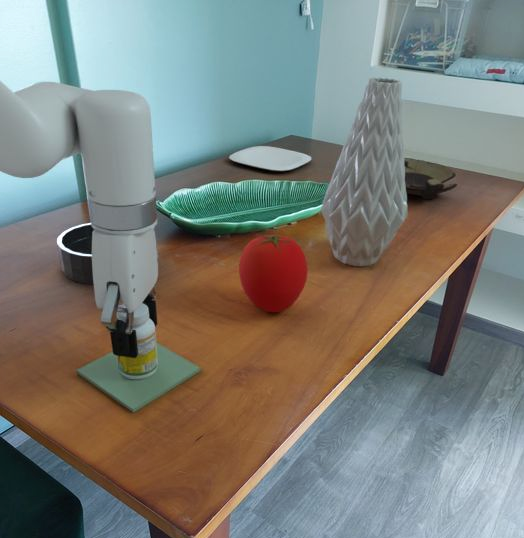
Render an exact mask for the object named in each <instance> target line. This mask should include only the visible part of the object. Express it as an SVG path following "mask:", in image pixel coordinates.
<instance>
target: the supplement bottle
mask: <svg viewBox="0 0 524 538" xmlns="http://www.w3.org/2000/svg"><path fill="white" fill-rule="evenodd" d="M119 306H122V307H127V305H124V303H122V304H120V305H119ZM117 318H118V319H119V320H122V321H124V322H125V323H126V313H122V312H117ZM133 330H136V336H137V346H138V356H137V357H136V358H130V357H123V356H117V359H118V367H119V371H120V373H121V374H122V375H124V376H125V377H127V378H130V379H144V378H147V377H149V376H151V375H153V374H154V373H155V372H156V370H157V368H158V359H157V347H156V342H157V334H156V327H155V325H154V323H153V321H152V320H151V319H150V318H149V310H148V307H147V305H145V304H143V303H142V304H141V305H140V306H139V307H138V309H137V310H135V311H134V319H133Z"/></svg>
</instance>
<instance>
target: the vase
mask: <svg viewBox="0 0 524 538" xmlns="http://www.w3.org/2000/svg"><path fill="white" fill-rule="evenodd" d="M402 87H403V82H402V81H401V80H400V79H395V78H388V77H385V78H382V77H378V78H376V77H373V78H368V81H367V85H366V86H365V88H364V92H363V94H362V96H361V97H362V98H361V101H360V103H359V104H358V106H357V109H356V113H355V116H354V120H353V122H352V124H351V127H350V129H349V133H348V135H347V136H346V140H345V142H344V144H343V147H342V149H341V152H340V155H339V158H338V159H337V160H336V161H337V162H336V164H335V168H334V170H333V173H332V176H331V178H330V181H329V184H328V186H327V189H326V192H325V194H324V198H323V200H322V202H321V203H322V205H321V208H320V212H321V214H322V216H323V218H324V221H325V224H324V226H325V227H324V229H325V232H326V235H327V240H328V242H329V243H330V244H329V245H330V246H331V250H332V254H333V256H334V257H333V258H335V259H336V260H337V261H338V262H339V263H342V264H344V265H348V266H352V267H359V268H361V267H368V266H369V267H370V266H371V265H375V264H376V263H377V262H378V261H379V259H380V257H381V256H382V254H384V253H386V252H387V251H388V248H389V247H390V245H391V244H392V241H393V240H394V238H395V237H396V236H397V234H398V230H399V229H400V228H401V227H402V226H403V224H404V222H405V221H406V219H407V218H408V215H409V212H408V194H407V193H406V186H405V168H406V166H404V159H405V150H404V149H405V145H404V135H403V134H404V133H403V107H402V106H403V99H402V89H403V88H402Z"/></svg>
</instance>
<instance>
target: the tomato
mask: <svg viewBox="0 0 524 538" xmlns="http://www.w3.org/2000/svg"><path fill="white" fill-rule="evenodd" d="M280 234H281V232H279V233H277V234H267V235H264V234H263V235H262V234H259V237H256V238H254V239H251V240H250V241H249V242H248V243H247V244H246V246H244V248H243V250H242V252H241V254H240V258H239V263H238V275H239V280H240V284H241V287H242V290H243V292H244V294H245V295H246V297H247V298H248V300H249V301H250V302H251V303H252V304H253V305H254V306H255V307H256V308H258V309H260V310H262V311H265V312H268V313H281V312H284V311H285V310H287V309H289V308H291V307H292V306H293V305H294V304H295V302H296V301H297V300H298V299H299V297H300V296H301V294H302V293H303V290H304V288H305V286H306V283H307V278H308V263H307V259H306V256H305V253H304V250H303V249H302V247H301V246H300V245H299V243H297V242H296V241H295V240H294V239H292V238H290V237H287V236H284V235H280Z"/></svg>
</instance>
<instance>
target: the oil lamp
mask: <svg viewBox="0 0 524 538" xmlns="http://www.w3.org/2000/svg"><path fill="white" fill-rule="evenodd" d="M404 167H405V186H406V194H407V195H411V196H412V195H413V196H419V197H420V196H421V197H423V198H424V199H425V200H432V199H434V198H435V197H436V196H437V195H438V194H443V193H445V192H448V191H451V190H453V189H455V188H456V187H457V186H458V183H449V184H444V183H447V182H448V181H450V180H452V179H453V178H455V177H456V175H457V174H456V172H454V171H453V170H452V169H451V168H448V167H446V166H445V165H443V164H440V163H437V162H431V161H426V160H423V159H422V160H421V159H416V158H412V157H410V158H404Z"/></svg>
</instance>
